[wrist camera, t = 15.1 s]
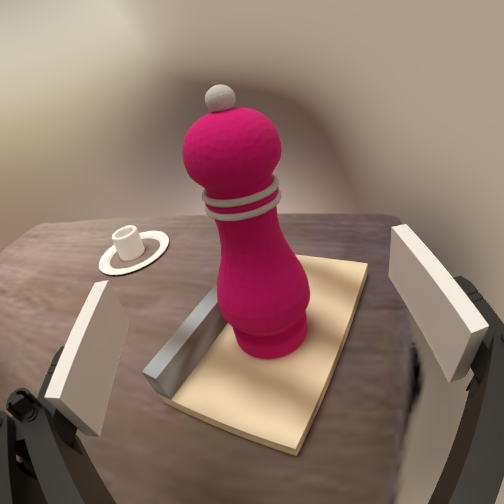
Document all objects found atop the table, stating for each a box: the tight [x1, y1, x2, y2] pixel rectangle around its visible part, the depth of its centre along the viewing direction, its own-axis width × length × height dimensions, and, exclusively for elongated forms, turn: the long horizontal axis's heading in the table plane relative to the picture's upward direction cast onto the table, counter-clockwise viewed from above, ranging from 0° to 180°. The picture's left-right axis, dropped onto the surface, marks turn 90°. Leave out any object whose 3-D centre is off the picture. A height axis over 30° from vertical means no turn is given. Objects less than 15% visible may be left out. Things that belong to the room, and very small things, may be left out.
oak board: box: [142, 255, 368, 456], centre depth 28 cm, size 21×12×4 cm, turn 153°
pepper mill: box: [182, 85, 310, 359], centre depth 22 cm, size 7×7×20 cm
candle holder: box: [99, 225, 169, 275], centre depth 47 cm, size 12×12×4 cm
